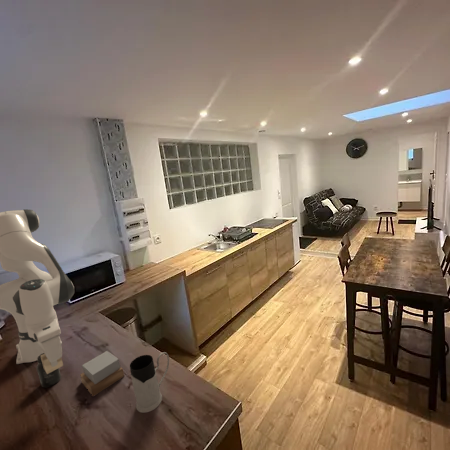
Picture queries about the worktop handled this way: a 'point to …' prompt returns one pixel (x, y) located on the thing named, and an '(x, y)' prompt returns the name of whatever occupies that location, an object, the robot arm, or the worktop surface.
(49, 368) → the birch block
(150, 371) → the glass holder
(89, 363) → the slate top slab
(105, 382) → the walnut base slab
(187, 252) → the worktop surface
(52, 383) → the supplement bottle
